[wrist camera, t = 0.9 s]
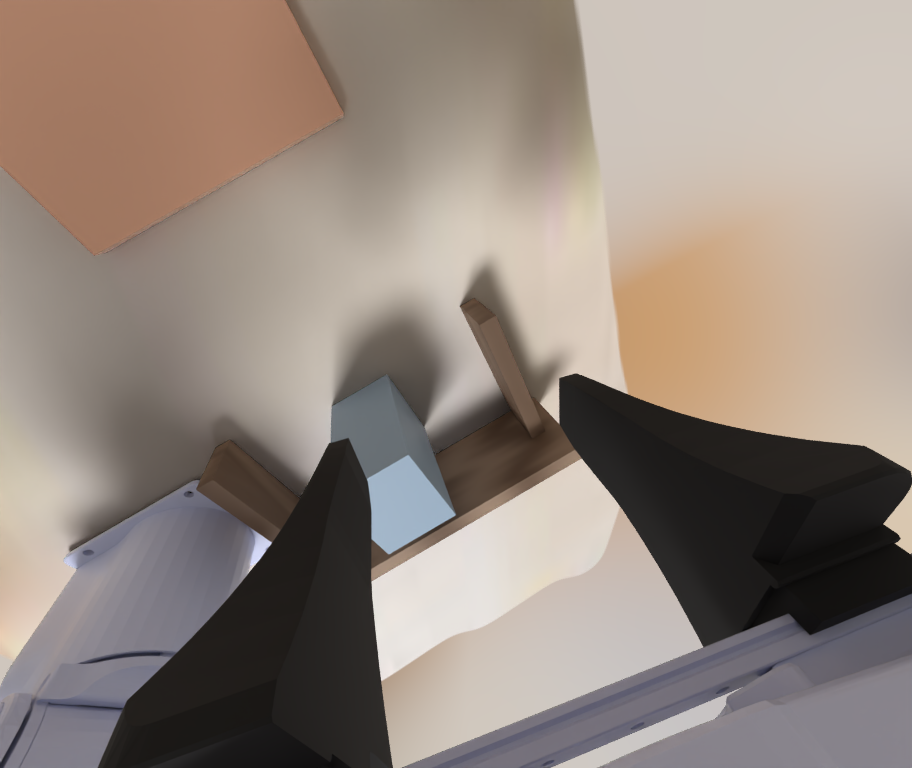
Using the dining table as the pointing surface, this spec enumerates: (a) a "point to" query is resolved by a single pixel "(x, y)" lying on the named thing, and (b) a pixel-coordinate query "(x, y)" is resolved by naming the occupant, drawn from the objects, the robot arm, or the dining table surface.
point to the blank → (393, 463)
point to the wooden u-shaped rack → (461, 465)
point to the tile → (149, 104)
